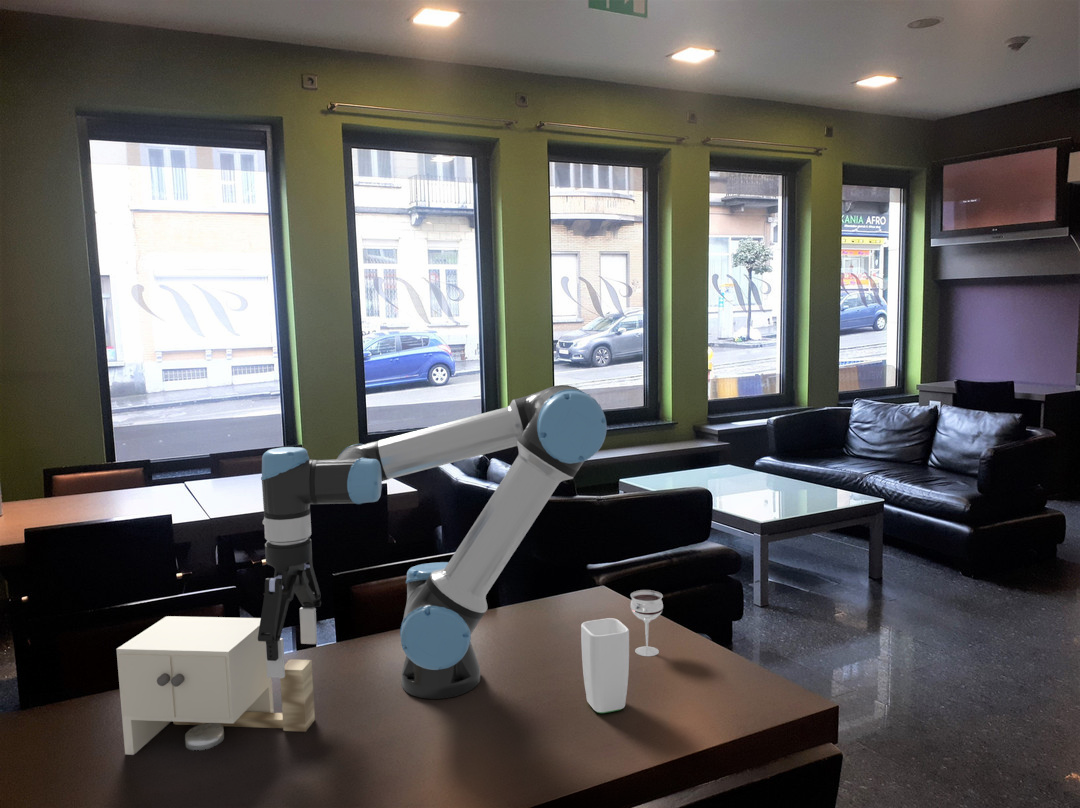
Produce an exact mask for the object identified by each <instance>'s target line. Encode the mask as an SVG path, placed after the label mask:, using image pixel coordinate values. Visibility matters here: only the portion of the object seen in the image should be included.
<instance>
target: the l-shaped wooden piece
mask: <svg viewBox="0 0 1080 808" xmlns="http://www.w3.org/2000/svg"><path fill="white" fill-rule="evenodd" d="M284 664H285V677H284V678H279V680H280V693H281V695H280V696H281V711H282V712H274V713H270V712H244V713H243V714H242V715H241V716H240V717H239V718H238V719H237V720H236V721H235V722H234V723H233V724H231V723H218V724H221V725H222V726H223V727H233V728H234V727H235V728H237V727H238V728H239V727H241V728H265V729H267V728H268V729H282V731H284V732H307V731H308V729H310V727H311V726H312V725H313V723H314V722H315V720H316V717H315V715H316V714H315V699H314V698H315V696H314V694H315V693H314V681H313V660H312V659H288V660H287V661H286V663H284ZM172 722H173V725H178V726H179V725H182V726H183V725H184V726H198V725H201V724H206V723H203V722H174V721H172Z"/></svg>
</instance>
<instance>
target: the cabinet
mask: <svg viewBox="0 0 1080 808" xmlns="http://www.w3.org/2000/svg"><path fill="white" fill-rule="evenodd" d="M260 620H261V617H225V616H224V617H223V616H219V617H218V616H180V615H179V616H175V615H174V616H171V615H170V616H169V615H168V616H167V615H166V616H164V617H163V618H161V619H160V620H158V621H157V622H155V623H154V624H152V625H151V626H149V627H148V628H146V629H144V630H143V631H142V632H140V633H139V634H137V635H136V636H134V637H132V638H131V639H129V640H128V641H126V642H125V643H123V644H122V645H120V646H118V647H117V648H116V649H115V650H116V658H117V659H116V660H117V670H118V671H117V672H118V674H117V675H118V682H119V683H118V684H119V696H120V698H119V699H120V707H121V709H120V710H121V719H122V720H121V721H122V732H123V744H124V745H123V746H124V755H127V756H128V755H129V756H130V755H131V756H134V755H135V754H137V753H138V752H139V751H140V750H141V749H142V748H143V747H144V746H145V745H147V744H148V743H149V742H150V741H151V740H152V739H153V738H155V736H157V735H158V734H160V732H161V731H162V730H163V729H165V728H166V727H167V726H168V725H169V724H170V723H171V722H173V721H174V722H203V723H231V724H233V723H234V722H235V721H236V720H237V719H238V718H239V717H240V716H241V715H242V714H243V713H244V712H270V713H275V712H274V709H275V708H274V697H273V696H274V693H273V678H267V661H266V642H264V641H258V633H259V627H260Z"/></svg>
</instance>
